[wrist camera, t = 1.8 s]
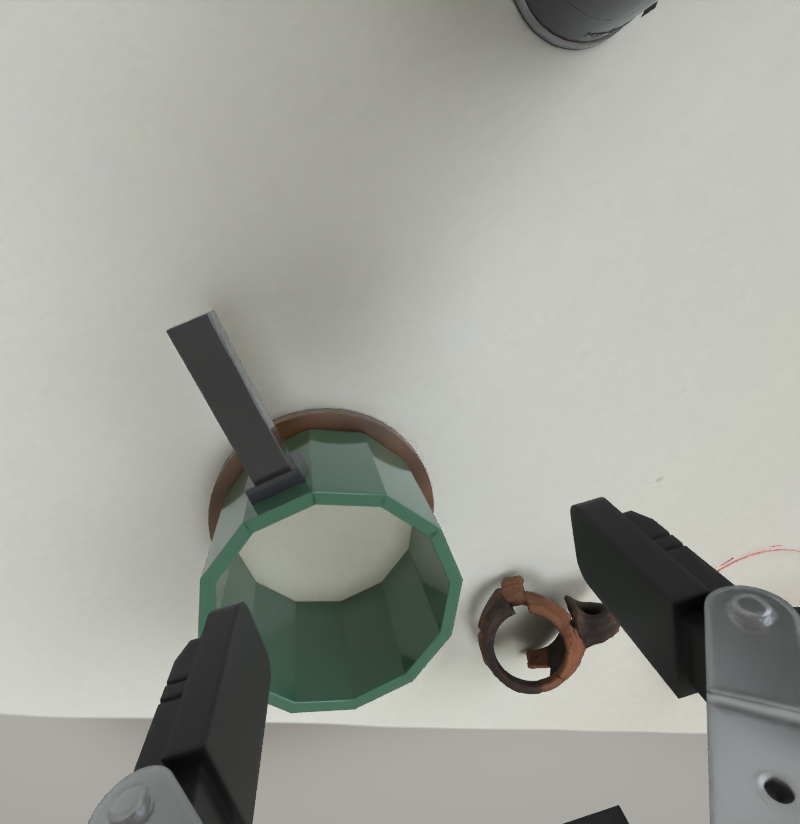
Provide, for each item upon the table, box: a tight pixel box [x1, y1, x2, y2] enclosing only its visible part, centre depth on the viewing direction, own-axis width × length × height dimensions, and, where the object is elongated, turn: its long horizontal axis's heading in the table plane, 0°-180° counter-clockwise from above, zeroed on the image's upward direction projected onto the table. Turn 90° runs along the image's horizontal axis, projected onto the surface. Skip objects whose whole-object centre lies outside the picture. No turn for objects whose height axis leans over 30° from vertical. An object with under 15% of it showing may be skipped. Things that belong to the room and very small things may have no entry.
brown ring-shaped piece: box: [478, 576, 620, 694], centre depth 43 cm, size 12×10×8 cm
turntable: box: [209, 409, 434, 541], centre depth 38 cm, size 17×17×1 cm
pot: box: [167, 310, 463, 713], centre depth 31 cm, size 25×15×10 cm, turn 22°
